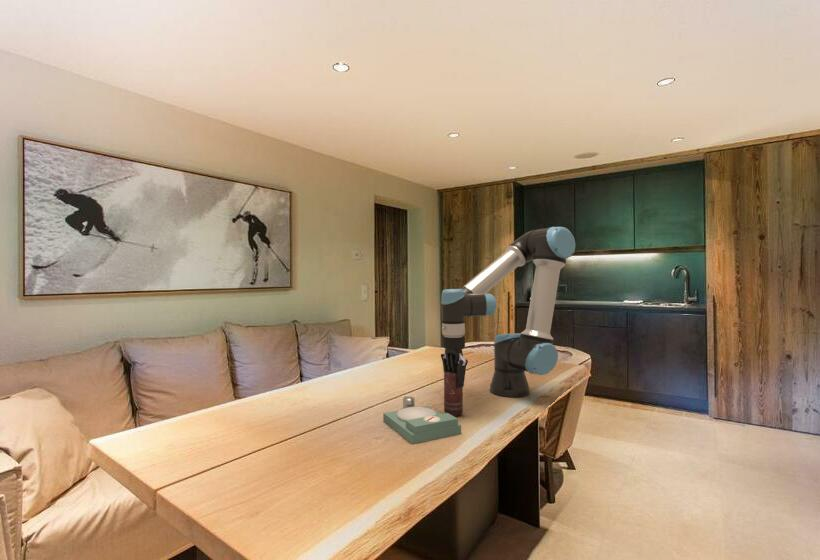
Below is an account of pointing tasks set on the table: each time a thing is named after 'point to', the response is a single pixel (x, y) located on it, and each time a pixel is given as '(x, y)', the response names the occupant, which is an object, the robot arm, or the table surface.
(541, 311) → the robot arm
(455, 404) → the can
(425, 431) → the scale
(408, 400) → the spacer
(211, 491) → the table surface
